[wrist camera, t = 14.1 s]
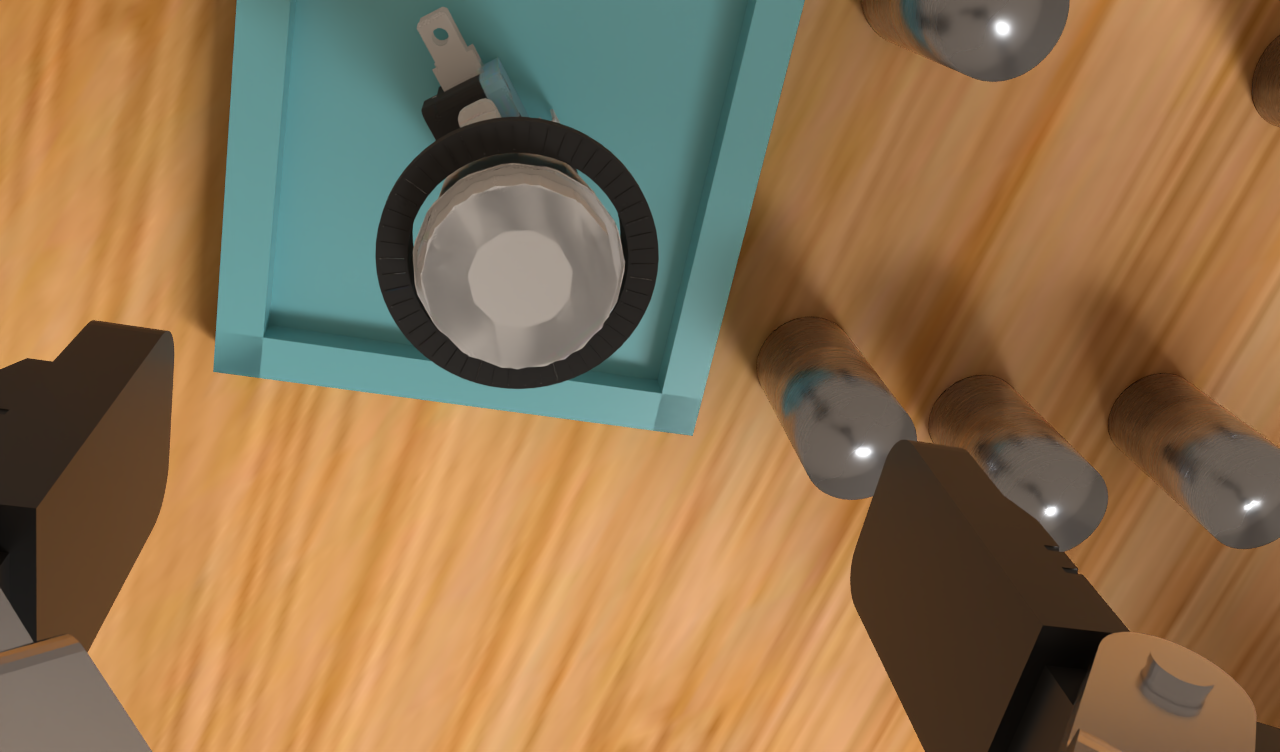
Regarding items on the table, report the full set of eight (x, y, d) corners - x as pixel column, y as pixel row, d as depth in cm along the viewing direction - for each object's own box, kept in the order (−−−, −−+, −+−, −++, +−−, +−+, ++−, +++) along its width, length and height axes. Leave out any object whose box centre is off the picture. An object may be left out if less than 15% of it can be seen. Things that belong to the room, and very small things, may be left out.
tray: (821, -131, 27) (838, -131, 26) (684, 412, 33) (692, 435, 32) (266, -268, 25) (254, -275, 23) (225, 349, 31) (213, 371, 29)
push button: (341, 57, 27) (267, 149, 18) (531, -42, 27) (552, 4, 18) (470, 280, 30) (462, 455, 21) (644, 194, 30) (711, 335, 21)
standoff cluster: (1370, 32, 31) (1537, 63, 26) (1163, 486, 37) (1267, 582, 32) (879, -86, 28) (963, -76, 23) (738, 429, 34) (780, 525, 29)
